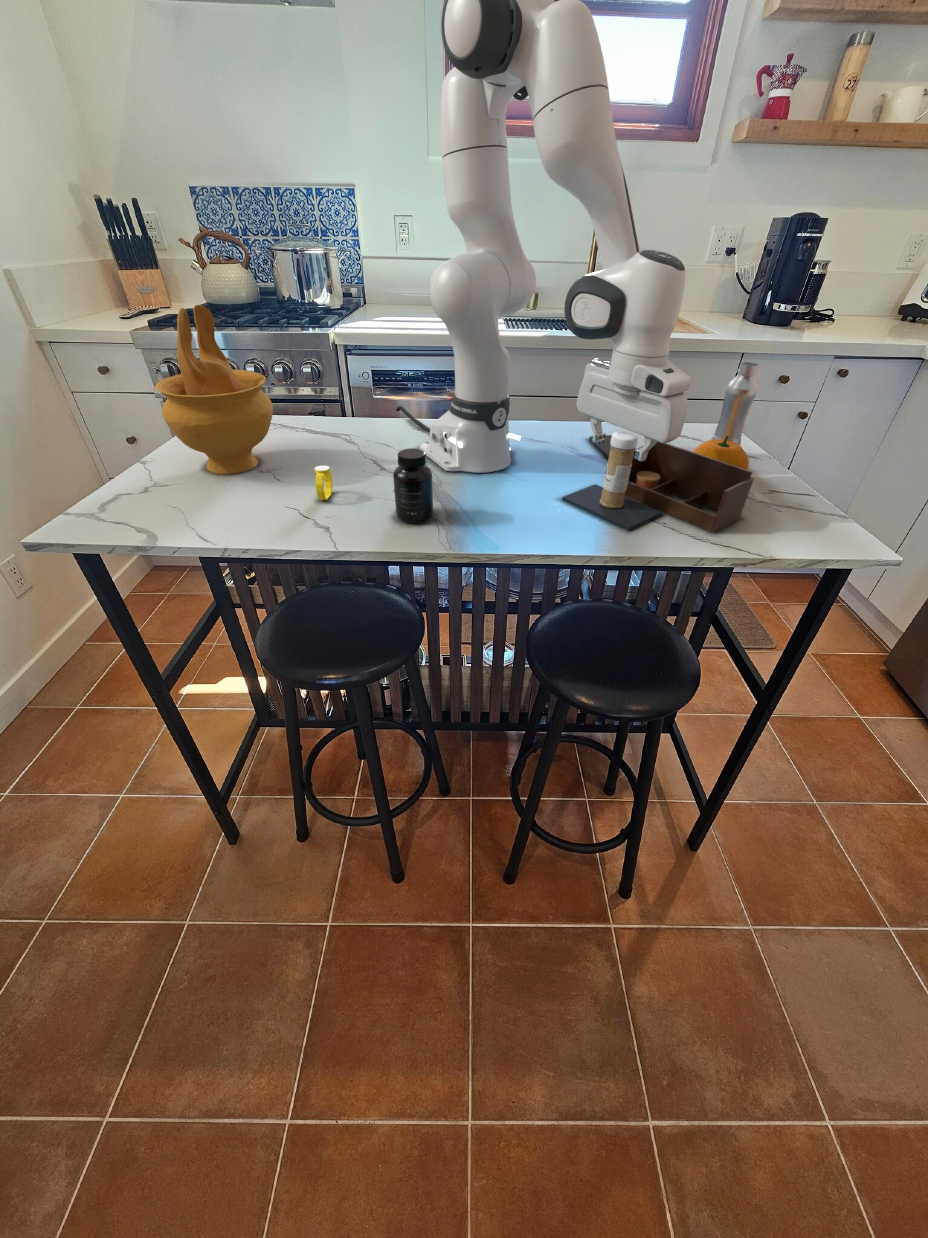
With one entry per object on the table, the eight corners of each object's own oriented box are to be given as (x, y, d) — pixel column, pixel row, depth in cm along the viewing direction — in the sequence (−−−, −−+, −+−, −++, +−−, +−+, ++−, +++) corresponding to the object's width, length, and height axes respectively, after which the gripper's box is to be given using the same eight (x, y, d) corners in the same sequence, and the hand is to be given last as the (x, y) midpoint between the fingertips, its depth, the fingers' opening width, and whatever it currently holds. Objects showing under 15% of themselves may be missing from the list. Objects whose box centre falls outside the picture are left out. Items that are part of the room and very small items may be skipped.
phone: (616, 434, 136) (642, 456, 124) (615, 437, 136) (641, 460, 124) (587, 435, 134) (611, 458, 123) (587, 439, 135) (610, 461, 123)
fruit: (692, 468, 122) (705, 422, 115) (747, 481, 116) (764, 434, 110) (674, 485, 114) (687, 437, 108) (733, 500, 109) (750, 451, 103)
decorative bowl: (243, 490, 108) (201, 320, 90) (157, 475, 113) (101, 311, 95) (301, 454, 124) (276, 302, 106) (223, 441, 129) (186, 295, 111)
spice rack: (615, 491, 111) (623, 448, 106) (642, 480, 116) (651, 438, 110) (713, 533, 98) (729, 485, 92) (739, 518, 103) (756, 472, 97)
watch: (328, 504, 104) (324, 474, 101) (314, 503, 104) (309, 474, 101) (337, 491, 109) (333, 462, 105) (323, 490, 109) (319, 461, 105)
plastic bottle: (742, 457, 127) (773, 365, 115) (724, 463, 124) (754, 369, 112) (718, 449, 131) (745, 358, 119) (700, 454, 128) (726, 362, 116)
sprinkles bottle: (596, 499, 107) (608, 430, 98) (619, 498, 107) (633, 429, 99) (603, 510, 103) (616, 439, 95) (626, 509, 103) (642, 438, 95)
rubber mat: (562, 499, 108) (562, 496, 107) (594, 486, 113) (595, 484, 112) (628, 530, 98) (629, 527, 98) (661, 515, 103) (662, 512, 103)
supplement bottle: (398, 507, 104) (394, 444, 96) (434, 508, 104) (433, 446, 96) (393, 524, 98) (389, 459, 91) (431, 525, 98) (430, 461, 91)
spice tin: (628, 491, 111) (631, 474, 109) (641, 485, 114) (645, 468, 111) (647, 499, 109) (651, 482, 106) (660, 493, 111) (665, 476, 109)
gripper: (576, 357, 95) (563, 436, 104) (678, 388, 83) (654, 474, 92) (599, 353, 98) (585, 430, 107) (701, 382, 86) (676, 465, 95)
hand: (618, 450), depth 99 cm, fingers open, 8 cm apart
